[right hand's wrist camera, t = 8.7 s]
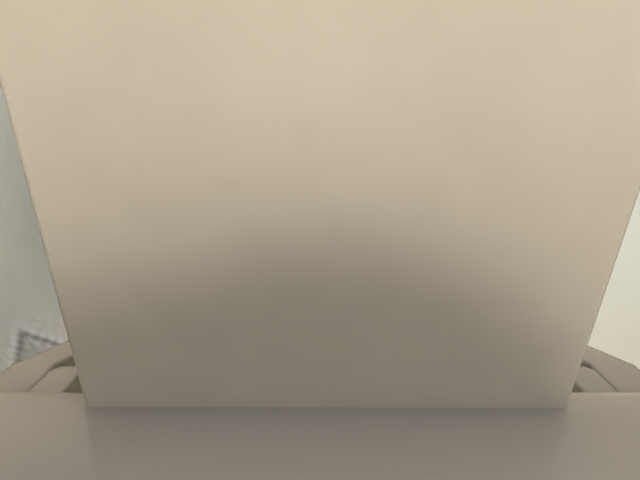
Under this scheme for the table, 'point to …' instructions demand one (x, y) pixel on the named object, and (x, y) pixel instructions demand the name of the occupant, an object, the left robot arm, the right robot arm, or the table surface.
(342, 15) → the box
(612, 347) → the table surface
